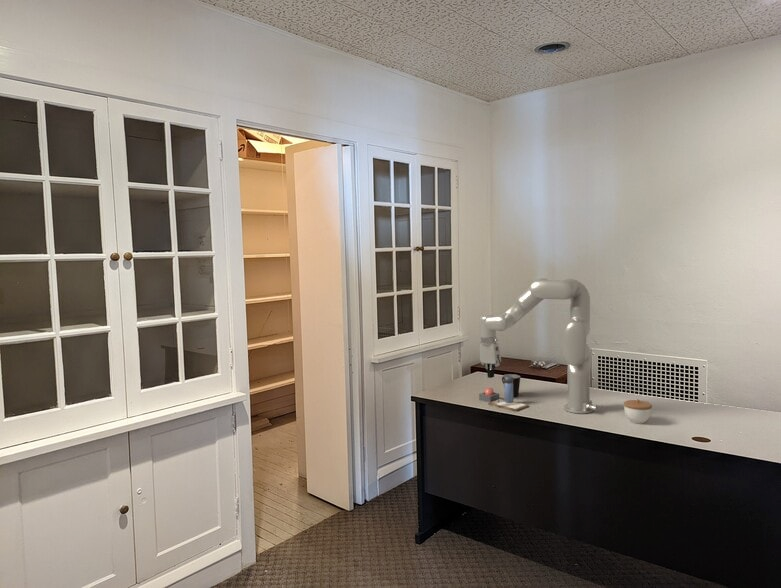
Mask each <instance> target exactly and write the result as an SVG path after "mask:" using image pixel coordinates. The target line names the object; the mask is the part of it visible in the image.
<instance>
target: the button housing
mask: <svg viewBox="0 0 781 588" xmlns="http://www.w3.org/2000/svg"><path fill="white" fill-rule="evenodd" d="M478 395H479V396H478V399H479V401H482V402H486V403H490V402H493V401H496V400H499V399H500V393H498V392H495V391H493V395H485V391H484V392H480V393H478Z"/></svg>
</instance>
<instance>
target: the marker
mask: <svg viewBox="0 0 781 588" xmlns="http://www.w3.org/2000/svg"><path fill="white" fill-rule="evenodd" d="M504 382H505V388H504V399H505V402H506V403H513V402H514V398H513V377H511V376H506V377H504Z"/></svg>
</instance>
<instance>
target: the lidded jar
mask: <svg viewBox="0 0 781 588" xmlns="http://www.w3.org/2000/svg"><path fill="white" fill-rule="evenodd" d="M623 405H624V406H623V408H624V409H623V410H624V414H625V416H626V418H627V420H629V421H630V423H633V424H639V425H641V424H642V425H643V424H645V423H646V422H648V420H649V419H650V418H651V416H652V410H653V409H652V407H653V405H652V403H651V402H648V401H644V400H640V399H638V398H636V399H630V400H629V399H628V400H625V401H623Z"/></svg>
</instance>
